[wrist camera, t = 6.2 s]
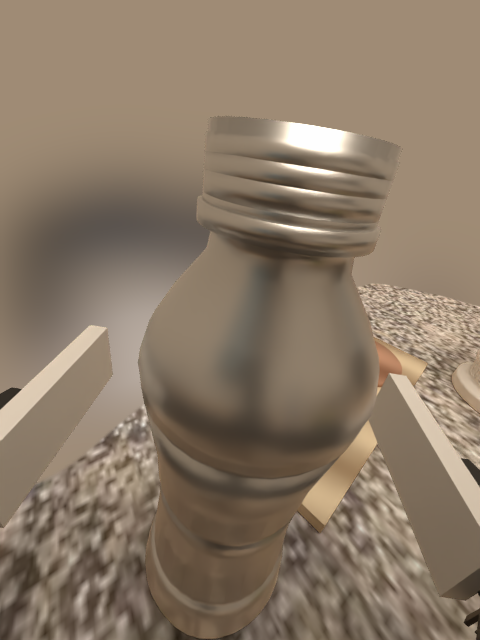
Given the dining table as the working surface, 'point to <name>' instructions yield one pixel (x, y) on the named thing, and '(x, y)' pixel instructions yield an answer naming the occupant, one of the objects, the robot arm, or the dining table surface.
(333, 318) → the plastic bottle
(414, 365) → the board
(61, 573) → the dining table surface
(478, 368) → the decorative container
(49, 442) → the robot arm
